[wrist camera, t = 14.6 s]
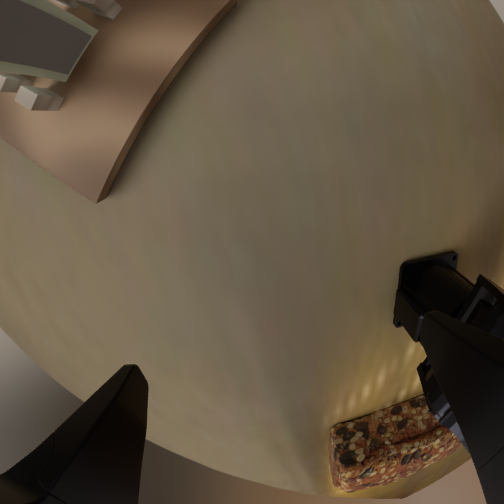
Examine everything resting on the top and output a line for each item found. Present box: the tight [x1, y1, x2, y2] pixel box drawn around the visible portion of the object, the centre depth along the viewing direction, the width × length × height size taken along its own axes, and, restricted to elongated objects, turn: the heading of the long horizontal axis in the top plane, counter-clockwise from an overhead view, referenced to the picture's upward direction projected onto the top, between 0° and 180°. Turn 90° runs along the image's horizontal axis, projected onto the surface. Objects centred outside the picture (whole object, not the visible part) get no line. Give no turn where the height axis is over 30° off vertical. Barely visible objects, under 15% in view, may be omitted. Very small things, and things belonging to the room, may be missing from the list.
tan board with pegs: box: [0, 0, 236, 204], centre depth 10 cm, size 16×18×4 cm
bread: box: [329, 395, 461, 492], centre depth 26 cm, size 19×11×10 cm, turn 100°
